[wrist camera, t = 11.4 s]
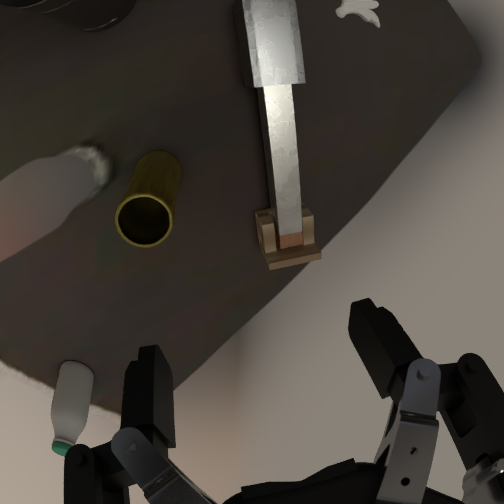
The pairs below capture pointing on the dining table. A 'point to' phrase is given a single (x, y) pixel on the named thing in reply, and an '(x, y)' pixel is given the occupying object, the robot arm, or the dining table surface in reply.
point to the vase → (150, 200)
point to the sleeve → (269, 42)
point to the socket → (291, 254)
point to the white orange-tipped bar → (281, 162)
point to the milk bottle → (70, 404)
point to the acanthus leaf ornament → (359, 10)
